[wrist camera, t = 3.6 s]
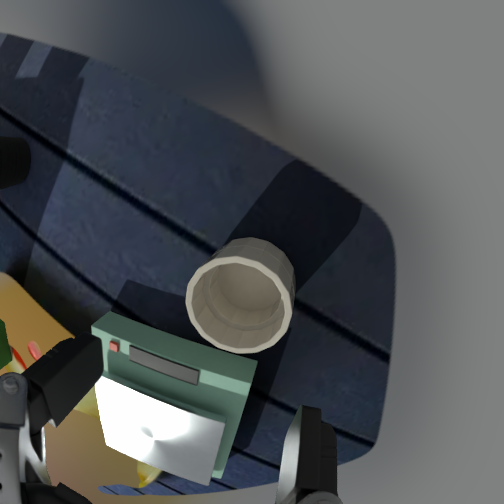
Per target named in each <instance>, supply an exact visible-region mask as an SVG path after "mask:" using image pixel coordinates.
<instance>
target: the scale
mask: <svg viewBox="0 0 504 504" xmlns="http://www.w3.org/2000/svg"><path fill="white" fill-rule="evenodd" d="M92 335H95V336H97V337H99V338H101V340H102V348H103V360H104V370H105V371H108V372H110V373H112V374H114V375H116V376H118V377H120V378H123V379H125V380H127V381H129V382H132V383H134V384H136V385H139V386H141V387H143V388H146V389H148V390H151V391H153V392H156V393H158V394H161V395H163V396H166V397H169V398H171V399H174V400H177V401H179V402H182V403H185V404H188V405H191V406H194V407H197V408H200V409H203V410H206V411H209V412H212V413H215V414H218V415H222V416H225V417H227V422H226V426H225V429H224V433H223V437H222V440H221V444H220V448H219V451H218V455H217V459H216V462H215V466H214V470H213V473H212V476H213V477H216V478H220V479H221V477H222V474H223V471H224V468H225V465H226V462H227V459H228V456H229V453H230V450H231V447H232V444H233V441H234V438H235V435H236V432H237V429H238V425H239V422H240V419H241V416H242V413H243V410H244V406H245V403H246V400H247V397H248V393H249V390H250V387H251V383H252V380H253V377H254V373H255V370H256V366H257V363H258V361H256V360H252V359H249V358H245V357H242V356H238V355H235V354H231V353H228V352H224V351H221V350H218V349H214V348H211V347H208V346H205V345H202V344H199V343H196V342H193V341H189V340H186V339H183V338H181V337H178V336H175V335H172V334H169V333H166V332H163V331H160V330H158V329H155V328H152V327H150V326H147V325H144V324H141V323H139V322H136V321H134V320H131V319H128V318H126V317H123V316H121V315H118V314H116V313H113V312H111V311H109V312H108V313H107V314H105V315H104V316H103V317H102V318H100V319H99V320H98V321H97V322H95V323H94V324H93V325H92Z"/></svg>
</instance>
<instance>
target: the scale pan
mask: <svg viewBox="0 0 504 504" xmlns="http://www.w3.org/2000/svg"><path fill="white" fill-rule="evenodd" d="M95 390H96V396H97V402H98V407H99V413H100V418H101V423H102V427H103V432H104V436H105V441H106V444H107V445H108V446H110V447H112V448H114V449H116V450H118V451H120V452H122V453H124V454H126V455H128V456H131V457H133V458H135V459H137V460H139V461H142V462H144V463H146V464H149V465H151V466H153V467H156V468H158V469H161V470H163V471H166V472H169V473H171V474H174V475H177V476H180V477H182V478H185V479H188V480H191V481H194V482H197V483H200V484H204V485H207V486H209V483H210V480H211V477H212V473H213V470H214V466H215V462H216V459H217V455H218V451H219V448H220V444H221V440H222V437H223V433H224V429H225V426H226V422H227V417H225V416H222V415H218V414H215V413H212V412H209V411H206V410H203V409H200V408H197V407H194V406H191V405H188V404H185V403H182V402H179V401H177V400H174V399H171V398H169V397H166V396H163V395H161V394H158V393H156V392H153V391H151V390H148V389H146V388H143V387H141V386H139V385H136V384H134V383H132V382H129V381H127V380H125V379H123V378H120V377H118V376H116V375H114V374H112V373H110V372H108V371H105V370H103V374H102V376H101V378H100V379H99V380H98V382H97V383H96V384H95Z"/></svg>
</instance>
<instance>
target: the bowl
mask: <svg viewBox="0 0 504 504" xmlns="http://www.w3.org/2000/svg"><path fill="white" fill-rule="evenodd" d="M295 288H296V281H295V274H294V269H293V266H292V264H291V263H290V261H289V260H288V258H287V256H286V255H285V253H284V252H283V251H281V250H280V249H279V248H277V247H276V246H274V245H273V244H272V243H270V242H268V241H265V240H261V239H257V238H253V237H248V238H241V239H234V240H232V241H230V242H229V243H227V244H225V245H224V246H222V247H221V248H219V249H218V250H217V251H216V252H215V253H214V254H213V255H212V256H211V257H210V258H209V259H208V260H207V261H206V262H205V263H204V264H203V265H201V266H200V267H199V268H198V269H197V271H196V273H195V274H194V276H193V277H192V279H191V280H190V282H189V283H188V287H187V294H186V301H185V302H186V307H187V311H188V314H189V318H190V321H191V322H192V324H193V325H194V327H195V328H196V329H197V331H198V332H199V333H200V335H201V336H202V337H203V338H205V339H206V340H208V341H209V342H210V343H212V344H213V345H215V346H216V347H218V348H220V349H224V350H227V351H230V352H234V353H256V352H259V351H262V350H264V349H266V348H268V347H271V346H273V345H275V343H276V342H277V341H278V340H279V339H280V338H281V337H282V336H283V335H284V334H285V333H286V331H287V329H288V326H289V323H290V319H291V316H292V312H293V304H294V296H295Z"/></svg>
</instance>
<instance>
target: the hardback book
mask: <svg viewBox="0 0 504 504" xmlns="http://www.w3.org/2000/svg"><path fill="white" fill-rule="evenodd" d="M11 361H12V358H11V353H10V349H9V344H8V339H7V334H6V329H5V323H4V322H3V321H2V320H1V319H0V369H2V368H3V367H4V366H5V365H7V364H8V363H9V362H11Z"/></svg>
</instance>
